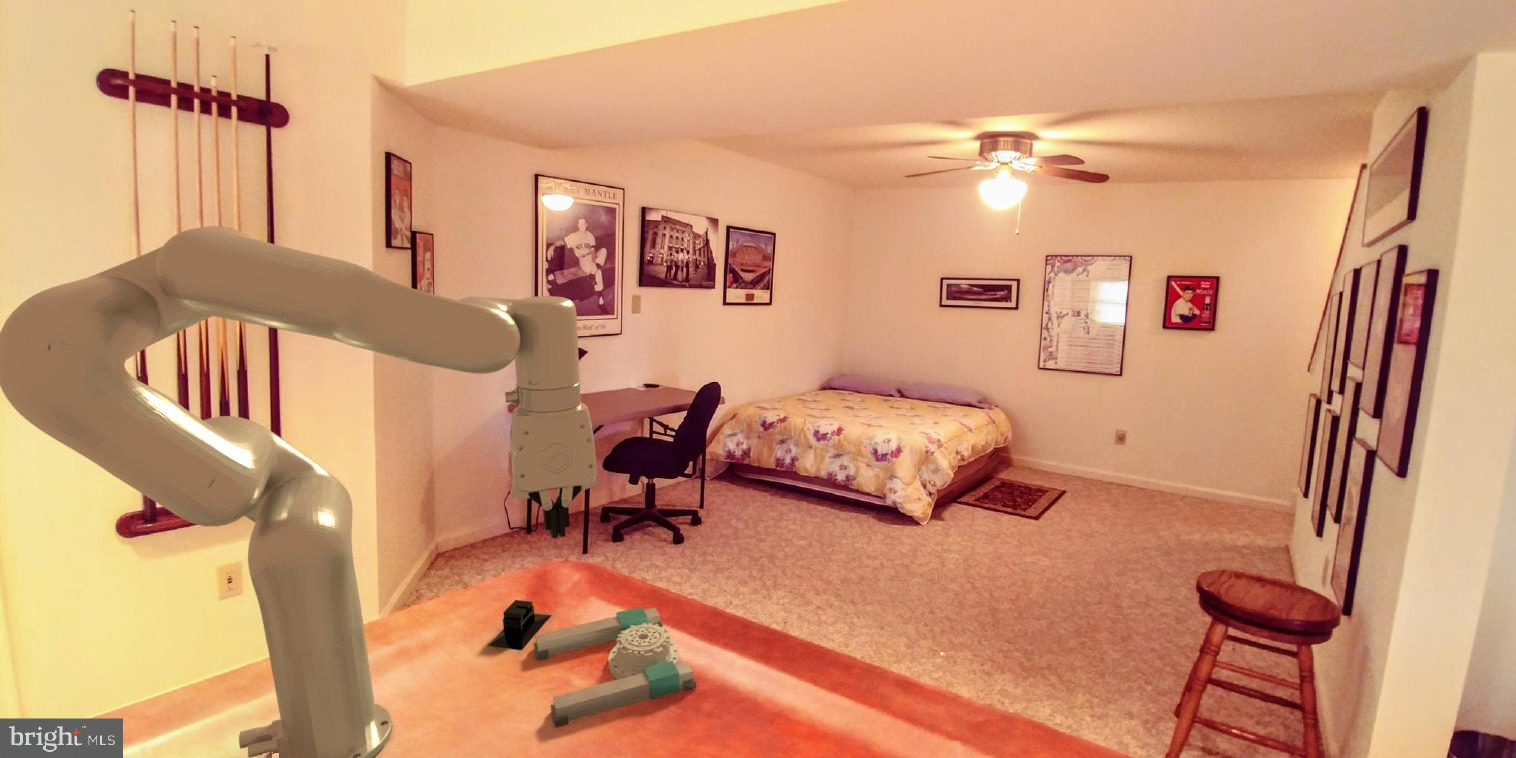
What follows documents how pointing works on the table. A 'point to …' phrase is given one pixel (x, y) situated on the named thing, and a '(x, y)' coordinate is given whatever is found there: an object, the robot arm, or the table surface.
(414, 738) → the table surface
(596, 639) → the bar rails
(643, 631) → the mechanical component
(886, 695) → the table surface
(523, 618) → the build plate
